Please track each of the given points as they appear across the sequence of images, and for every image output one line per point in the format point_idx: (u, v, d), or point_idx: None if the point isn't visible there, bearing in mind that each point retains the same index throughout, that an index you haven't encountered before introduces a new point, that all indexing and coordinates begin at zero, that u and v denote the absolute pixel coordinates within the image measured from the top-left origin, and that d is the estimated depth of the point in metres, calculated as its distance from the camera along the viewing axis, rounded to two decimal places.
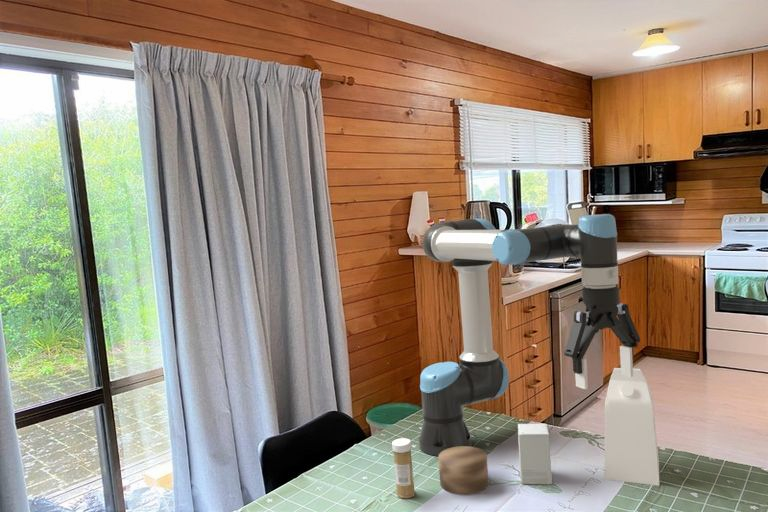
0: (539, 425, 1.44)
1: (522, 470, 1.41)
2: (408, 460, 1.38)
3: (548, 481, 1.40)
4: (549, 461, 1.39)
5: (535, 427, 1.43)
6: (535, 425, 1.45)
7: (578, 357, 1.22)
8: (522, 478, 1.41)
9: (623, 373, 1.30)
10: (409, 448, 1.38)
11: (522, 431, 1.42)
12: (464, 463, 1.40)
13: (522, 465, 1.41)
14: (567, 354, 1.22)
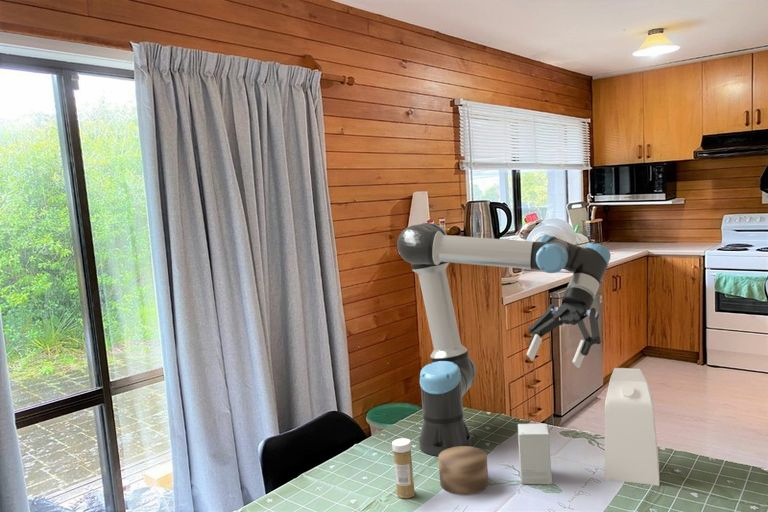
0: (539, 425, 1.44)
1: (522, 470, 1.41)
2: (408, 460, 1.38)
3: (548, 481, 1.40)
4: (549, 461, 1.39)
5: (535, 427, 1.43)
6: (535, 425, 1.45)
7: None
8: (522, 478, 1.41)
9: (530, 355, 1.52)
10: (409, 448, 1.38)
11: (522, 431, 1.42)
12: (464, 463, 1.40)
13: (522, 465, 1.41)
14: (598, 339, 1.43)
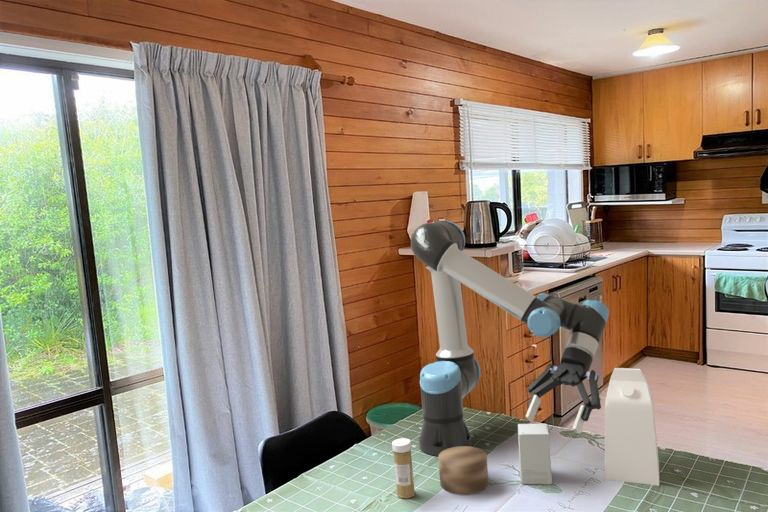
0: (539, 425, 1.44)
1: (522, 470, 1.41)
2: (408, 460, 1.38)
3: (548, 481, 1.40)
4: (549, 461, 1.39)
5: (535, 427, 1.43)
6: (535, 425, 1.45)
7: None
8: (522, 478, 1.41)
9: (529, 417, 1.51)
10: (409, 448, 1.38)
11: (522, 431, 1.42)
12: (464, 463, 1.40)
13: (522, 465, 1.41)
14: (598, 405, 1.41)
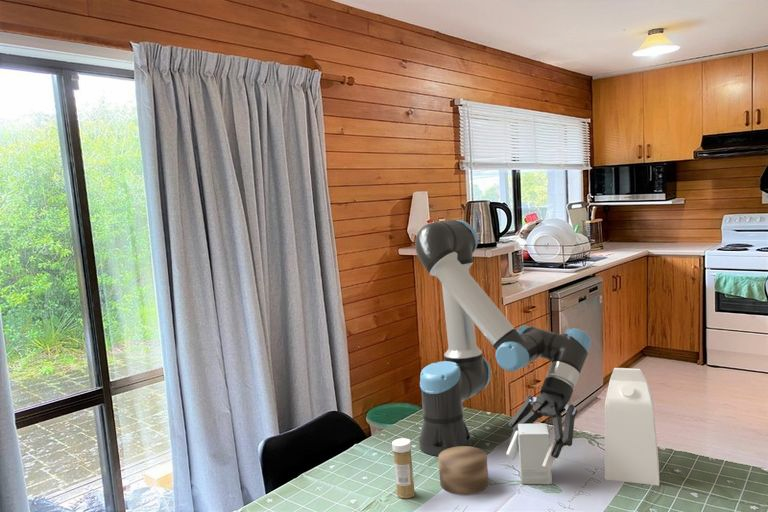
0: (539, 425, 1.44)
1: (522, 470, 1.41)
2: (408, 460, 1.38)
3: (548, 481, 1.40)
4: None
5: (535, 427, 1.43)
6: (535, 425, 1.45)
7: None
8: (522, 478, 1.41)
9: (510, 454, 1.45)
10: (409, 448, 1.38)
11: (522, 431, 1.42)
12: (464, 463, 1.40)
13: (522, 465, 1.40)
14: (569, 441, 1.38)
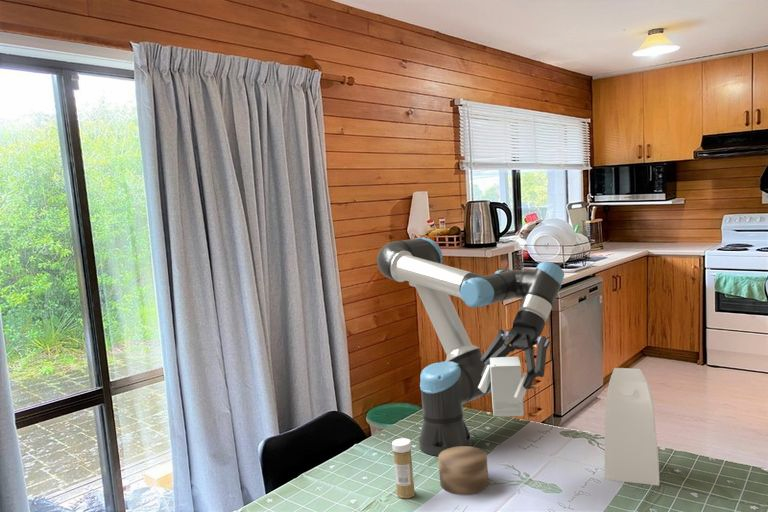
0: (511, 358, 1.42)
1: (494, 403, 1.38)
2: (408, 460, 1.38)
3: (520, 413, 1.38)
4: None
5: (507, 360, 1.41)
6: (507, 358, 1.42)
7: None
8: (494, 411, 1.39)
9: (482, 388, 1.43)
10: (409, 448, 1.38)
11: (494, 364, 1.39)
12: (464, 463, 1.40)
13: (494, 397, 1.38)
14: (541, 372, 1.36)
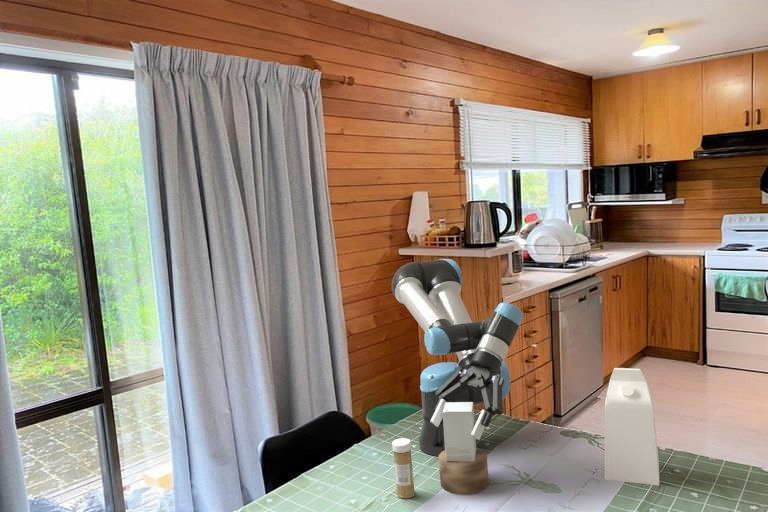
0: (465, 403, 1.45)
1: (446, 447, 1.41)
2: (408, 460, 1.38)
3: (471, 459, 1.40)
4: (472, 438, 1.39)
5: (460, 405, 1.43)
6: (461, 403, 1.45)
7: None
8: (446, 455, 1.41)
9: (434, 421, 1.46)
10: (409, 448, 1.38)
11: (447, 409, 1.42)
12: (464, 463, 1.40)
13: (446, 442, 1.41)
14: (498, 410, 1.37)
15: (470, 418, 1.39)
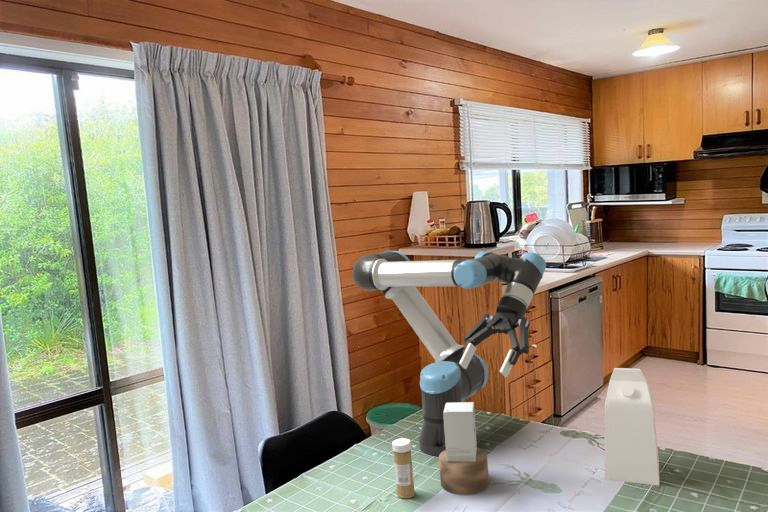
0: (466, 404, 1.44)
1: (447, 448, 1.41)
2: (408, 460, 1.38)
3: (472, 459, 1.40)
4: (473, 439, 1.39)
5: (461, 405, 1.43)
6: (462, 403, 1.45)
7: None
8: (447, 456, 1.41)
9: (462, 364, 1.53)
10: (409, 448, 1.38)
11: (447, 409, 1.42)
12: (465, 463, 1.39)
13: (447, 443, 1.41)
14: (525, 349, 1.44)
15: (471, 418, 1.39)
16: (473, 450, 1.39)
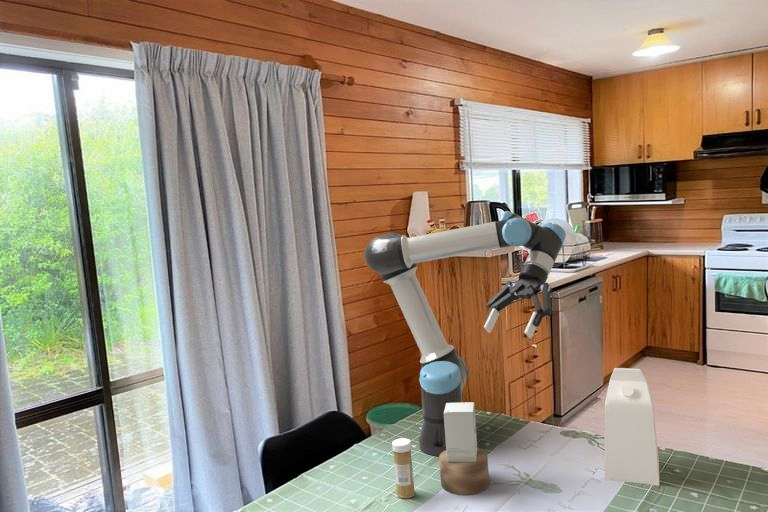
0: (466, 404, 1.44)
1: (447, 448, 1.41)
2: (408, 460, 1.38)
3: (473, 459, 1.40)
4: (473, 439, 1.39)
5: (461, 406, 1.43)
6: (462, 404, 1.45)
7: (544, 315, 1.53)
8: (447, 456, 1.41)
9: (487, 327, 1.61)
10: (409, 448, 1.38)
11: (448, 409, 1.42)
12: (465, 463, 1.39)
13: (447, 443, 1.40)
14: (548, 311, 1.51)
15: (471, 418, 1.39)
16: (473, 450, 1.39)
